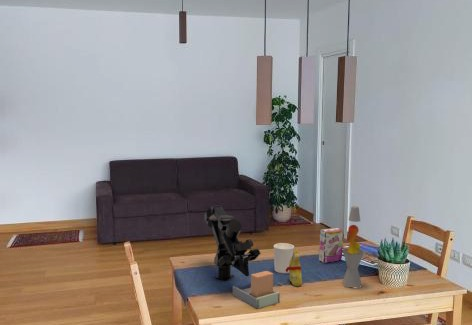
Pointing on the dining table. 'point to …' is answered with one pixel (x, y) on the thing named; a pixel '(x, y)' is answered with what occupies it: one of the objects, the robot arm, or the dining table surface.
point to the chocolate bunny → (295, 269)
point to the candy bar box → (330, 245)
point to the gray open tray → (256, 302)
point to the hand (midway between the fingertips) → (247, 275)
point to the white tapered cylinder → (282, 256)
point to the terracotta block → (261, 284)
